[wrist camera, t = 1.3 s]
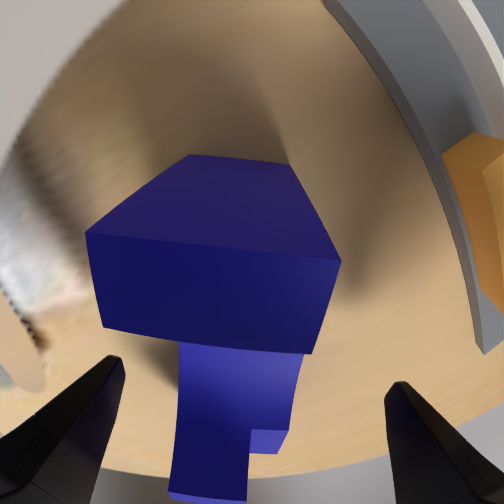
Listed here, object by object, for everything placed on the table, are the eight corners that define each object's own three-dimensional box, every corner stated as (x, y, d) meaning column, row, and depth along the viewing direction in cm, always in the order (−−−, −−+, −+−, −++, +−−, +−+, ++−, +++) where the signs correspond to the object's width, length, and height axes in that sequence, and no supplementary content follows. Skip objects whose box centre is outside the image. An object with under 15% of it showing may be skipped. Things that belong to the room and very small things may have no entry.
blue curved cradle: (275, 405, 14) (278, 508, 9) (190, 397, 14) (172, 499, 9) (336, 171, 9) (442, 272, 3) (190, 153, 8) (85, 232, 3)
